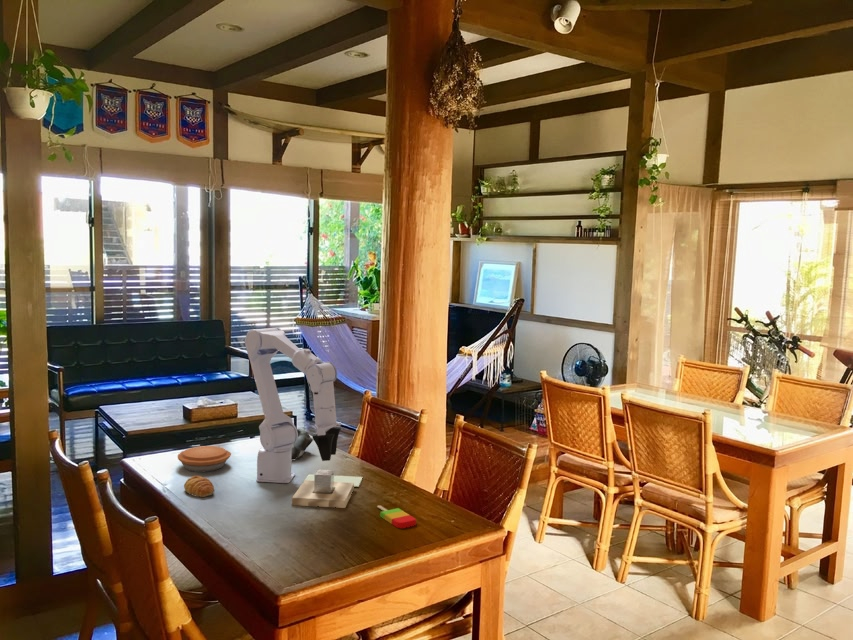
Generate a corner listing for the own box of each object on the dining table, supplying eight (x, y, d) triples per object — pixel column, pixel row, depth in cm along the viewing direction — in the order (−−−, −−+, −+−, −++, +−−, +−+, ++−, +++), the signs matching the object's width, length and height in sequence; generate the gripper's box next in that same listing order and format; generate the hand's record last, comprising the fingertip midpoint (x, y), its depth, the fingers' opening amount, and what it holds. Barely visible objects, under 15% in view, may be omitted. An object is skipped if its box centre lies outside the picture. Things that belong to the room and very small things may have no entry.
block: (314, 499, 191) (314, 474, 190) (317, 494, 195) (318, 469, 194) (330, 500, 191) (330, 475, 190) (333, 495, 195) (334, 470, 194)
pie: (201, 477, 205) (201, 461, 205) (166, 467, 214) (166, 451, 213) (241, 465, 219) (241, 449, 218) (207, 455, 227) (207, 440, 226)
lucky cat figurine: (295, 462, 222) (273, 424, 219) (268, 471, 228) (247, 434, 225) (320, 438, 234) (299, 402, 232) (294, 446, 240) (274, 411, 238)
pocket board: (292, 505, 186) (292, 497, 186) (304, 487, 200) (304, 480, 200) (345, 508, 185) (345, 500, 185) (353, 489, 199) (353, 482, 199)
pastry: (220, 494, 193) (220, 481, 192) (197, 500, 188) (197, 486, 187) (203, 485, 199) (203, 472, 199) (181, 491, 194) (180, 477, 194)
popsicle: (399, 531, 173) (399, 523, 173) (368, 510, 185) (369, 504, 185) (418, 526, 176) (418, 519, 176) (387, 507, 188) (387, 500, 188)
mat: (302, 484, 202) (302, 483, 202) (308, 475, 210) (308, 474, 210) (358, 487, 201) (358, 486, 201) (362, 478, 209) (362, 476, 209)
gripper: (334, 410, 185) (338, 462, 185) (344, 402, 200) (348, 451, 200) (307, 412, 185) (312, 464, 186) (319, 404, 200) (323, 453, 200)
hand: (329, 457), depth 193 cm, fingers open, 7 cm apart
